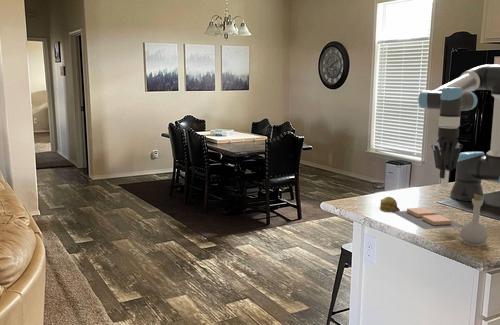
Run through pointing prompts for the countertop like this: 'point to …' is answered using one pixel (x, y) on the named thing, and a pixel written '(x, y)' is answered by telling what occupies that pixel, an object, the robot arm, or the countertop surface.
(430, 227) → the mat
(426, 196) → the countertop surface
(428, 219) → the tile
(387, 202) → the seashell
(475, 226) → the potion bottle
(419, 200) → the countertop surface
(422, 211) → the tile
